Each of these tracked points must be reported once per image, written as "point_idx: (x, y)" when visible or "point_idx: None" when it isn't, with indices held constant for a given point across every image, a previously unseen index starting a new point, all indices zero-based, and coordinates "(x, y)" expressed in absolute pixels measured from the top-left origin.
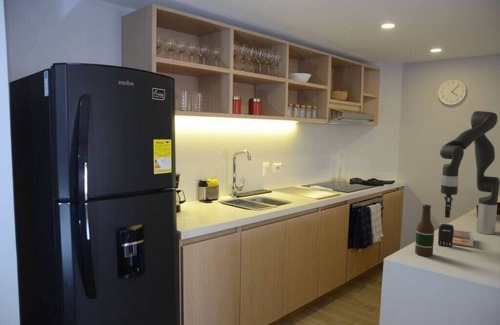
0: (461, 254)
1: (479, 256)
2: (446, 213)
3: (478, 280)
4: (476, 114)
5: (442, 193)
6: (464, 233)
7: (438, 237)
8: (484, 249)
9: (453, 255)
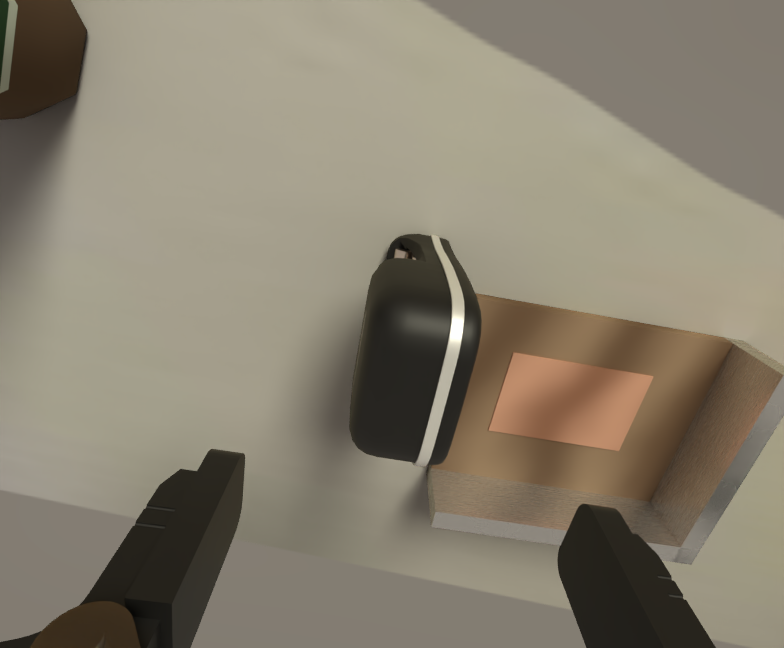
0: (207, 367)
1: None
2: (131, 538)
3: None
4: None
5: None
6: (684, 506)
7: (422, 250)
8: (415, 529)
9: (143, 304)
